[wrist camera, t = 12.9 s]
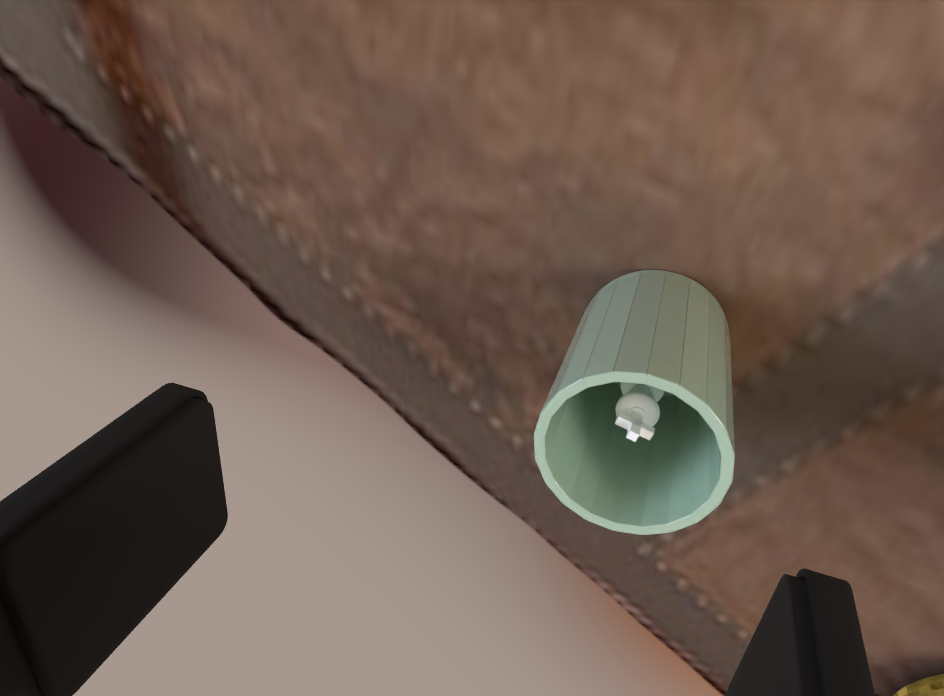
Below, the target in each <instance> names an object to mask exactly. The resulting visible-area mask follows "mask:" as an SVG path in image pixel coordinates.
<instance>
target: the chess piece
mask: <svg viewBox="0 0 944 696" xmlns="http://www.w3.org/2000/svg"><path fill="white" fill-rule="evenodd" d="M620 387H621V391H622V394H623V396H622V397H621V398H620V399H619V400H618V402H617V404H616V416H617V418H616V421H615V424H616V425H618V426H620V427H622V428H625V429H627V430H628V431H627V435H626V438H628V439H630V440H632V441H634V442H636V440H637V438H638V437H639V436H641V437H643V438H646V439H648V440H650V439H651V438H652V436H653V434H654V431H655V428H654V427H653V426H654V425H655V424H656V423H657V421H658V420H659V417H660V409H659V405H658V403H657V402H658V401H659V400H660V399H661V398H662V396H663V394H664V391H663V390H660V389H658V388H655V387H652V386H649V385H646V384H638V383H624V382H621V383H620Z"/></svg>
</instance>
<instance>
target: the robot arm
mask: <svg viewBox="0 0 944 696" xmlns="http://www.w3.org/2000/svg"><path fill="white" fill-rule="evenodd" d="M227 518H228V514H227V506H226V498H225V491H224V484H223V476H222V469H221V462H220V455H219V447H218V440H217V433H216V425H215V418H214V411H213V407H212V405H211V404H210V403H209V402H208V400H207V397H206V395H205V394H204V393H203V392H202V391H199V390H196V389H192V388H189V387H185V386H182V385H179V384H175V383H168V384H166V385H164V386H162V387H161V388H159V389H158V390H156V391H155V392H153V393H152V394H151V395H149V396H148V397H146V398H145V399H144V400H142V401H141V402H140V403H138V404H137V405H135V406H134V407H132V408H131V409H130V410H128V411H127V412H125V413H124V414H123V415H121V416H120V417H118V418H117V419H115V420H114V421H113V422H111V423H110V424H108V425H107V426H106V427H104V428H103V429H101V430H100V431H99V432H97V433H96V434H94V435H93V436H92V437H90V438H89V439H87V440H86V441H85V442H83V443H82V444H80V445H79V446H77V447H76V448H75V449H73V450H72V451H70V452H69V453H68V454H66V455H65V456H63V457H62V458H61V459H59V460H58V461H56V462H55V463H54V464H52V465H51V466H49V467H48V468H47V469H45V470H44V471H42V472H41V473H40V474H38V475H37V476H35V477H34V478H32V479H31V480H30V481H28V482H27V483H26V484H24V485H23V486H21V487H20V488H18V489H17V490H16V491H14V492H13V493H11V494H10V495H9V496H7V497H6V498H4V499H3V500H2V501H1V502H0V696H72V695H73V694H74V693H76V692H77V691H78V689H79V688H80V687H81V686H82V685H83V684H84V683H85V682H86V681H87V680H88V679H89V677H90V676H91V675H92V674H93V673H94V672H95V671H96V670H97V669H98V668H99V666H101V664H102V663H103V662H104V661H105V660H106V659H107V658H108V657H109V656H110V654H112V652H113V651H114V650H115V649H116V648H117V647H118V646H119V645H120V644H121V643H122V642H123V640H124V639H125V638H126V637H127V636H128V635H129V634H130V633H131V632H132V631H133V630H134V628H135V627H136V626H137V625H138V624H139V623H140V622H141V621H142V620H143V618H145V616H146V615H147V614H148V613H149V612H150V611H151V610H152V609H153V608H154V606H156V604H157V603H158V602H159V601H160V600H161V599H162V598H163V597H164V596H165V595H166V593H167V592H168V591H169V590H170V589H171V588H172V587H173V586H174V585H175V584H176V583H177V582H178V580H179V579H180V578H181V577H182V576H183V575H184V574H185V573H186V572H187V571H188V570H189V568H190V567H191V566H192V565H193V564H194V563H195V562H196V561H197V560H198V559H199V558H200V556H201V555H202V554H203V553H204V552H205V551H206V550H207V549H208V548H209V547H210V545H211V544H212V543H213V542H214V541H215V540H216V539H217V538H218V537H219V536H220V534H221V533H222V531H223V530H224V528H225V525H226V523H227ZM726 696H880V695H877V694H874V689H873V685H872V680H871V675H870V671H869V666H868V662H867V657H866V652H865V648H864V643H863V639H862V634H861V629H860V625H859V620H858V616H857V611H856V606H855V602H854V597H853V592H852V589H851V586H850V584H849V583H848V582H847V581H845V580H841V579H838V578H834V577H831V576H828V575H824V574H821V573H817V572H814V571H811V570H807V569H801V570H800V571H799V572H798V574H797V575H796V577H794V576H790V575H787V574H784V575H783V576H782V578H781V579H780V581H779V583H778V585H777V588H776V590H775V592H774V594H773V596H772V598H771V600H770V602H769V604H768V606H767V608H766V610H765V612H764V614H763V617H762V619H761V621H760V623H759V625H758V627H757V629H756V631H755V633H754V635H753V637H752V639H751V641H750V643H749V645H748V648H747V650H746V652H745V654H744V656H743V658H742V660H741V662H740V664H739V666H738V668H737V670H736V672H735V674H734V677H733V679H732V681H731V683H730V685H729V687H728V690H727V694H726Z"/></svg>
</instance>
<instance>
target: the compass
mask: <svg viewBox="0 0 944 696" xmlns="http://www.w3.org/2000/svg"><path fill="white" fill-rule="evenodd" d="M893 696H944V674H939V675H935V676H931V677H927V678H924V679H921V680H918V681H916V682H913V683H911V684H909V685H907V686H905V687H904V688H902V689H901V690H899V691H897V692H896V693H895V694H894V695H893Z"/></svg>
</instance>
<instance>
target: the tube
mask: <svg viewBox="0 0 944 696" xmlns="http://www.w3.org/2000/svg"><path fill="white" fill-rule="evenodd" d="M621 382H624V383H638V384H646V385H649V386H652V387H655V388H658V389H660V390H663V391H664V394H663V396H662V398H661V399H660V400H659V401H658V402H657V403H658V405H659V409H660V417H659V420H658V421H657V423H656V424H655V425H654V426H653V427H654V428H655V431H654V434H653V436H652V438H651V439H650V440H648V439H646V438H643V437H641V436H639V437H638V438H637V440H636V442H634V441H632V440H630V439H628V438H626V435H627V431H628V430H627V429H625V428H622V427H620V426H618V425H616V424H615V421H616V418H617V416H616V404H617V402H618V400H619V399H620V398H621V397H622V396H623V394H622V391H621V387H620V383H621ZM534 448H535V459H536V462H537V465H538V467H539V469H540V472H541V474H542V476H543V479H544V481H545V483H546V484H547V486H548V487H549V488H550V489H551V490H552V491H553V493H554V494H555V495H556V496H557V497H558V499H559V500H560V501H561V502H562V503H563V504H564V505H565V506H567V507H568V508H570V509H571V510H573V511H574V512H575V513H577V514H578V515H580V516H581V517H583V518H584V519H587V521H590V522H592V523H595V524H598V525H600V526H603V527H605V528H608V529H610V530H614V531H618V532H625V533H632V534H639V535H650V534H660V533H670V532H674V531H677V530H680V529H682V528H685V527H687V526H690V525H692V524H695V523H697V522H698V521H701V520H702V519H703V518H704V517H705V516H707V515H708V514H709V513H710V512H712V511H713V510H714V509H715V508H716V507H718V506H719V504H720V503H721V501H722V500H723V498H724V496H725V494H726V492H727V491H728V489H729V487H730V485H731V483H732V481H733V471H734V460H735V448H734V422H733V397H732V372H731V346H730V333H729V328H728V323H727V319H726V317H725V314H724V311H723V310H722V308H721V306H720V304H719V303H718V301H717V300H716V299H715V298H714V296H713V295H712V294H711V293H710V292H709V291H708V290H707V289H706V288H704V287H703V286H702V285H700V284H699V283H697V282H695V281H694V280H692V279H690V278H688V277H686V276H683V275H681V274H677V273H674V272H669V271H663V270H643V271H637V272H632V273H629V274H626V275H623V276H621V277H619V278H617V279H615V280H613V281H611V282H610V283H608V284H607V285H605V286H604V287H603V288H602V289H601V290H600V291H599V292H598V293H597V294H596V295H595V296H594V297H593V299H592V300H591V302H590V303H589V305H588V307H587V308H586V310H585V312H584V314H583V317H582V319H581V321H580V324H579V326H578V328H577V330H576V333H575V335H574V337H573V340H572V342H571V344H570V347H569V349H568V351H567V353H566V356H565V358H564V360H563V363H562V365H561V367H560V370H559V372H558V374H557V377H556V379H555V381H554V383H553V386H552V388H551V390H550V393H549V395H548V397H547V400H546V402H545V404H544V406H543V409H542V411H541V414H540V417H539V420H538V423H537V426H536V429H535V432H534Z"/></svg>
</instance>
